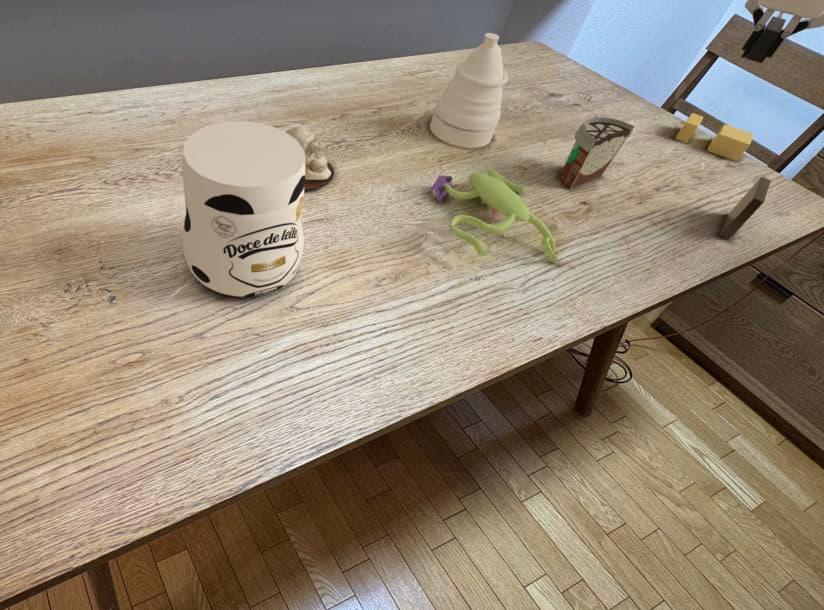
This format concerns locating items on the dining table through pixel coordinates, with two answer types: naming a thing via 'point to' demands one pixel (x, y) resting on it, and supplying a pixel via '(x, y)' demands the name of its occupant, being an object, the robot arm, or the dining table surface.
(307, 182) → the cream carved statuette
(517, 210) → the figurine
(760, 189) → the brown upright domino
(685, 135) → the block
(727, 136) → the butter block
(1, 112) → the dining table surface
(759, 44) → the knife
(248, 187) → the milk container
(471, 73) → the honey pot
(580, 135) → the food container
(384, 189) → the dining table surface
